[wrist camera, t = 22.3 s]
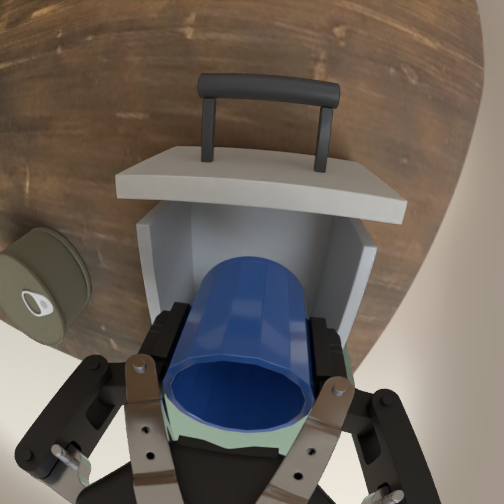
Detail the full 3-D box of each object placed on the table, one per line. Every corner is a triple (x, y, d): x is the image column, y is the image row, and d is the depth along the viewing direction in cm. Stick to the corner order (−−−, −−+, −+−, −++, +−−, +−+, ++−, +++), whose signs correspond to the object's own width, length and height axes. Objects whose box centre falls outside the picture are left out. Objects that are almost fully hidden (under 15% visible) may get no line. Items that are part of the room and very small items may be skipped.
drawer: (177, 82, 17) (113, 73, 10) (367, 98, 17) (425, 97, 9) (182, 302, 27) (152, 374, 19) (324, 317, 26) (335, 394, 18)
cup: (314, 261, 14) (331, 363, 8) (296, 343, 16) (297, 436, 11) (196, 250, 14) (150, 342, 8) (201, 333, 17) (174, 421, 11)
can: (11, 233, 26) (-24, 260, 20) (67, 216, 24) (24, 247, 18) (48, 309, 32) (22, 341, 26) (108, 310, 30) (81, 351, 24)
